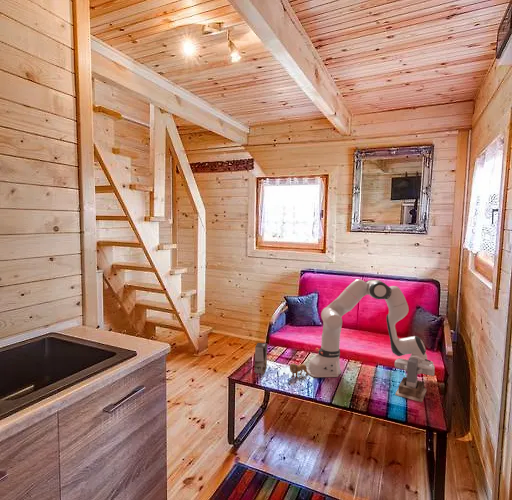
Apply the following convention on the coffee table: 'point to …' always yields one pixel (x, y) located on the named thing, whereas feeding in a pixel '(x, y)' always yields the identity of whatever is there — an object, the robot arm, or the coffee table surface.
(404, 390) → the post block
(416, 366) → the rail end
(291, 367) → the lion figurine
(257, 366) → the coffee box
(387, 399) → the coffee table surface
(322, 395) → the coffee table surface
